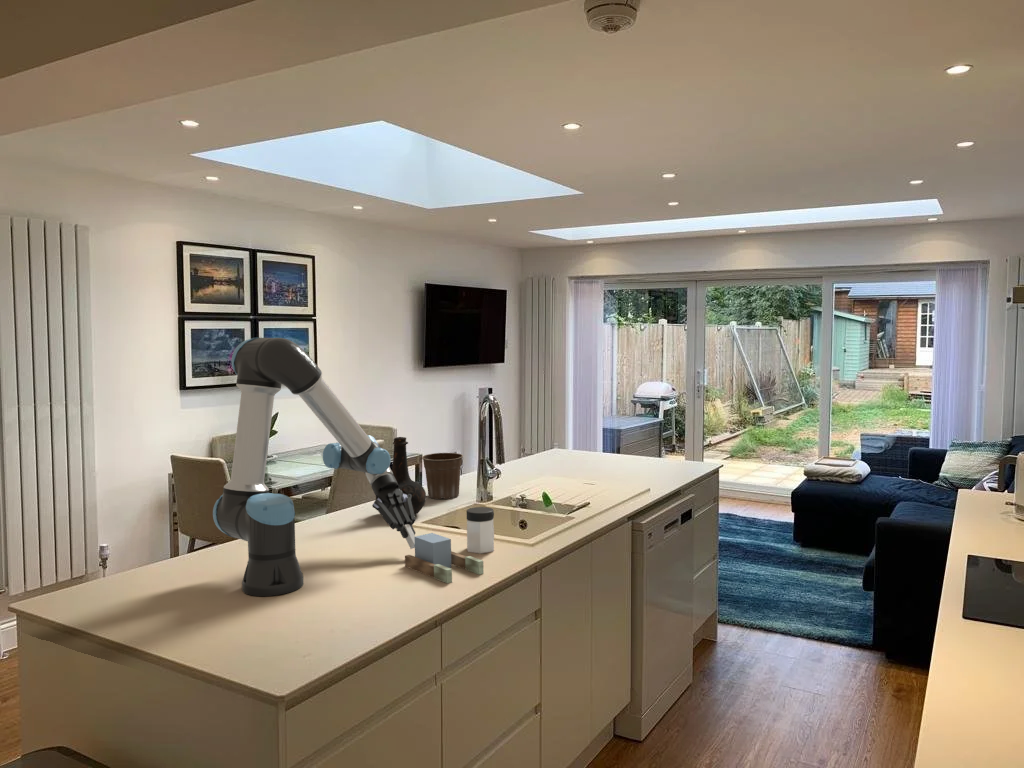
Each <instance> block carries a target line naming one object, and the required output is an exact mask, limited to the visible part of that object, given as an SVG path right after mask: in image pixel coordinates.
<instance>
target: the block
mask: <svg viewBox="0 0 1024 768" xmlns="http://www.w3.org/2000/svg"><path fill="white" fill-rule="evenodd" d="M451 551H452V539H451V538H449V537H446V536H443V535H439V534H436V533H433V532H430V533H426V534H421V535H415V548H414V557H417V558H420V559H422V560H425V561H427V562H430V563H433V564H435V565H436V564H440V565H443V566H445V567H448V568H450V569H451V568H452V564H451Z"/></svg>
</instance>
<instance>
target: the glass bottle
mask: <svg viewBox="0 0 1024 768" xmlns="http://www.w3.org/2000/svg"><path fill="white" fill-rule="evenodd" d="M392 445H393V454H392V456H393V457H392V467H391V468H392V469H391V471H392V472H393V475H394V477H395V479H396V481H397V483H398V486H399V489H400V490H401V491H402V492H403V494H406V495H408V494H411V495H412V497H411V502H412V506H413V511H414V515H415V516H416V515H418V514H419V512H420V511H422V509H423V508H424V506H425V504H426V501H427V494H426V493H427V492H426V490H425V488H424V487H423V486H422V484H420V483H419V482H417V481H414V480H412V479H411V477H410V473H409V467H408V456H407V455H408V454H407V445H409V442H408V441H407V437H404V436H398V437H394V438H393V442H392ZM375 500H377V496H376V495H375ZM402 502H403V499H402ZM403 506H404V508H405V505H404V502H403ZM385 507H386V506H385Z"/></svg>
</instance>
